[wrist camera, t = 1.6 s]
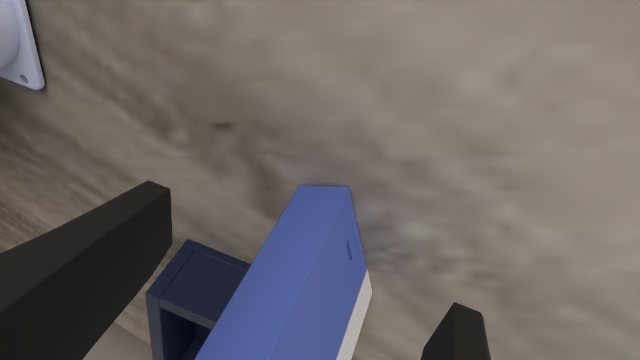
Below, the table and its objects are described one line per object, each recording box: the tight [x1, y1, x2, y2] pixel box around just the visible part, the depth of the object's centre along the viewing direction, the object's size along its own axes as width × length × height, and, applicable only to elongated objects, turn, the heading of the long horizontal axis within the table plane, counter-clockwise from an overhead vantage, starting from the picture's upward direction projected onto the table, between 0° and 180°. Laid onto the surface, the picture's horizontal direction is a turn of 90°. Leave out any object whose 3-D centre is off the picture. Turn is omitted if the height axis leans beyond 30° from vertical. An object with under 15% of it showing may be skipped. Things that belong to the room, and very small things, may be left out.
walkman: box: [194, 185, 372, 360], centre depth 21 cm, size 8×3×12 cm, turn 13°
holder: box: [145, 239, 251, 360], centre depth 32 cm, size 7×12×5 cm, turn 169°
